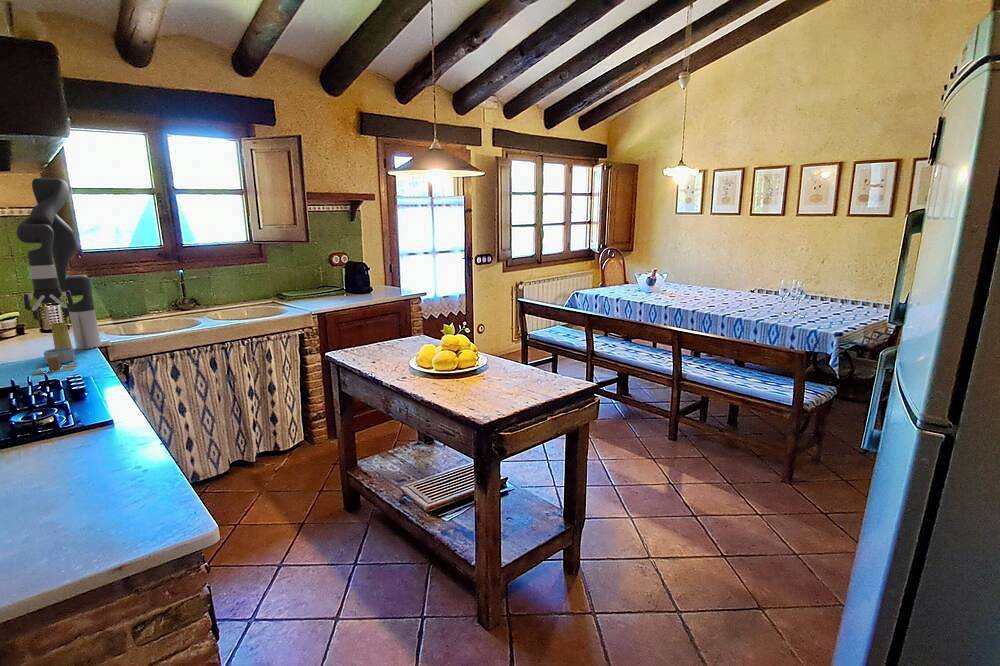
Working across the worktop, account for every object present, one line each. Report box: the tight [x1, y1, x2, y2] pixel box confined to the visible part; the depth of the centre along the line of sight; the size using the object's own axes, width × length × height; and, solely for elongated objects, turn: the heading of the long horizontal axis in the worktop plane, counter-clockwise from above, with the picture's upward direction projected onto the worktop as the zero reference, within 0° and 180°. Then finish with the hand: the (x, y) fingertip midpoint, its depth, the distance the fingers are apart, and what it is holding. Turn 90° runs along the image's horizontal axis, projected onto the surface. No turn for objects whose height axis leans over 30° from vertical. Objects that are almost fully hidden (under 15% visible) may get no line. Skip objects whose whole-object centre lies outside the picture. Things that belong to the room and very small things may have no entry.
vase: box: [50, 322, 73, 349], centre depth 222 cm, size 6×6×14 cm
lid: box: [31, 354, 79, 376], centre depth 202 cm, size 12×12×6 cm
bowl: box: [43, 347, 76, 365], centre depth 213 cm, size 9×9×5 cm
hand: (52, 318), depth 203 cm, fingers open, 8 cm apart
